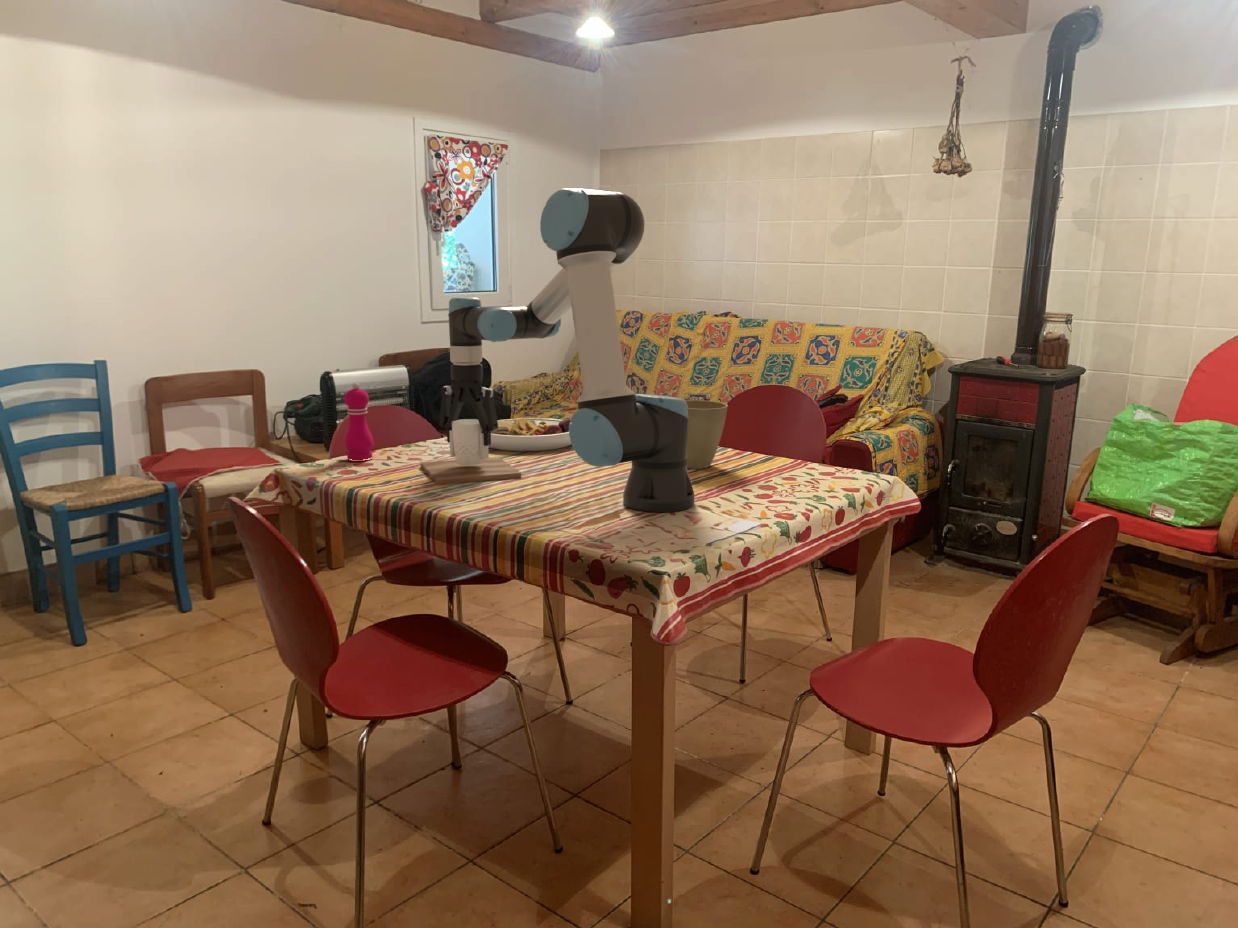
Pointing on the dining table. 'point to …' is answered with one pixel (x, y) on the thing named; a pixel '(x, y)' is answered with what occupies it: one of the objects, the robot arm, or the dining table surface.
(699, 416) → the plant pot
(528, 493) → the dining table surface
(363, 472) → the dining table surface
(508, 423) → the bowl
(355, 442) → the pepper mill
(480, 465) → the walnut board
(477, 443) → the white cup
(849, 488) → the dining table surface
